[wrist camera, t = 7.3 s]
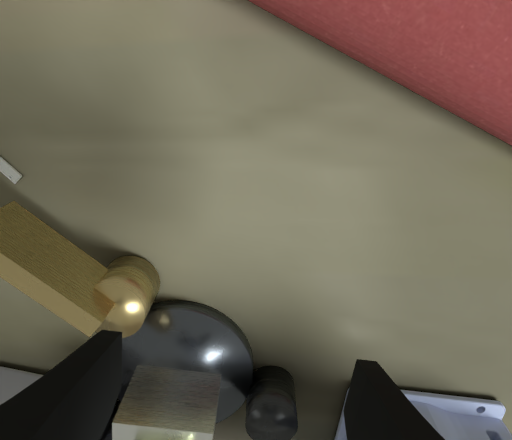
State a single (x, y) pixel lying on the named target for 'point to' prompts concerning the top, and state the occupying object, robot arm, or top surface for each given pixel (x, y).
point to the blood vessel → (423, 48)
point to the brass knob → (74, 276)
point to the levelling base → (192, 347)
